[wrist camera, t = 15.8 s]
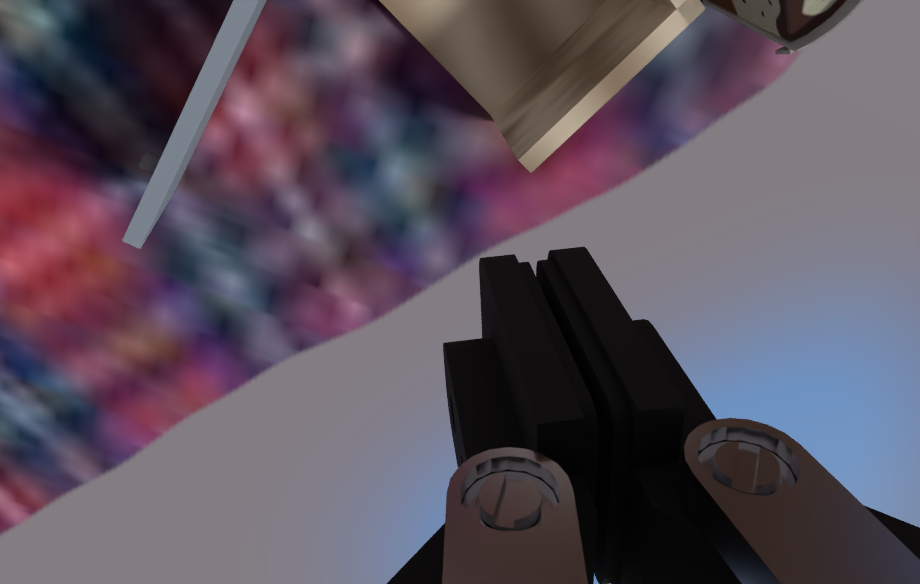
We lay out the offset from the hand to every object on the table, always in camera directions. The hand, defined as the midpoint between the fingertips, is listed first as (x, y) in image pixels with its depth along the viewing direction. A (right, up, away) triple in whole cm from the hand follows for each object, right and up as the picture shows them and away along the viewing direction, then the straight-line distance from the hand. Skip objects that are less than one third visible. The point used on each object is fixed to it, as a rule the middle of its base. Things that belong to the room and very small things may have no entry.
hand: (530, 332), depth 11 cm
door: (-15, +14, +28) cm, 34 cm away
